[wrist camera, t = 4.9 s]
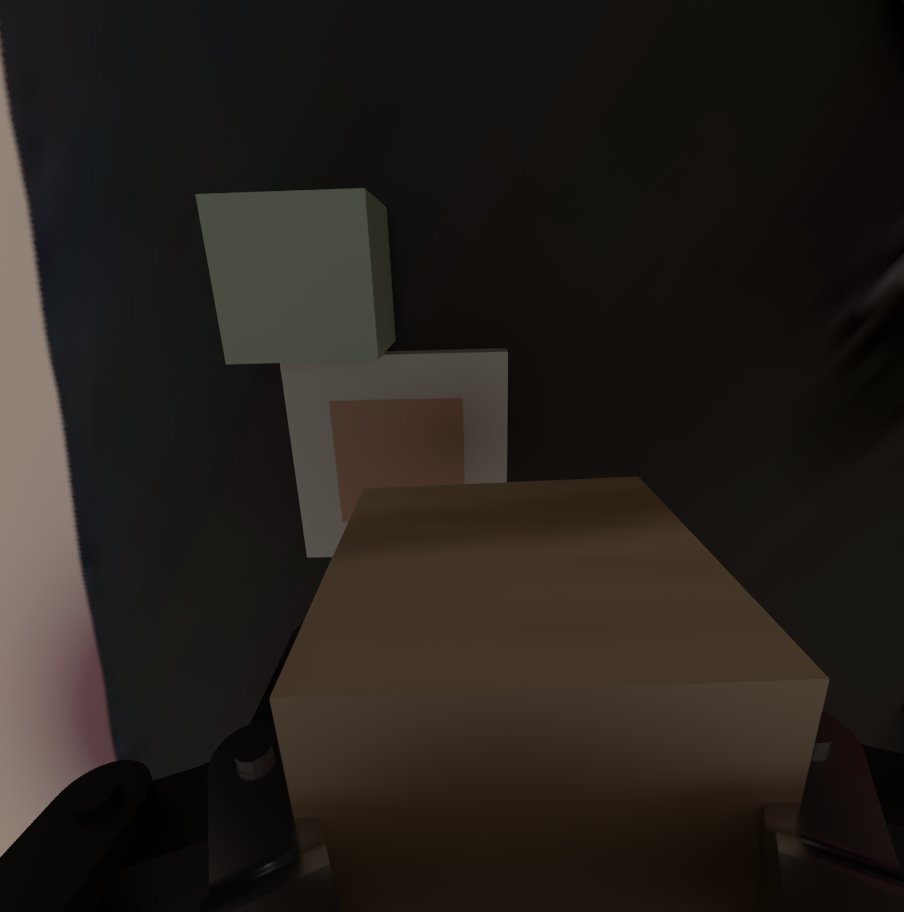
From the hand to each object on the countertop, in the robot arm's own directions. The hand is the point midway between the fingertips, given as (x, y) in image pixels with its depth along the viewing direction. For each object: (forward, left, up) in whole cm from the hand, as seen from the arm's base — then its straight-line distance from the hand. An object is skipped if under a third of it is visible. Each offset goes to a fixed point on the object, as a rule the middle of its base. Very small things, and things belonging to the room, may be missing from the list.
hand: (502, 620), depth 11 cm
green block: (-7, -7, -16) cm, 19 cm away
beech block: (0, 0, -1) cm, 1 cm away
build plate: (+2, -4, -16) cm, 17 cm away
